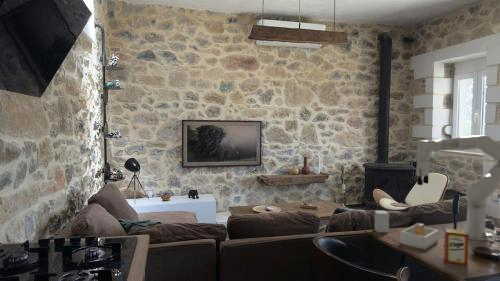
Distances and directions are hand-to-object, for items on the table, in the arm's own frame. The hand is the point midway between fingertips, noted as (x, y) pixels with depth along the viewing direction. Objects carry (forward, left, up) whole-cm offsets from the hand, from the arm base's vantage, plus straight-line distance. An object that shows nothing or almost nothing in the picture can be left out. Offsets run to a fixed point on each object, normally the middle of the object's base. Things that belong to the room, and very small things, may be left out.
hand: (422, 184), depth 230 cm
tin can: (-10, +30, -29) cm, 43 cm away
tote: (-10, +30, -30) cm, 44 cm away
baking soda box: (-34, +46, -31) cm, 65 cm away
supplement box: (+16, +25, -31) cm, 43 cm away
